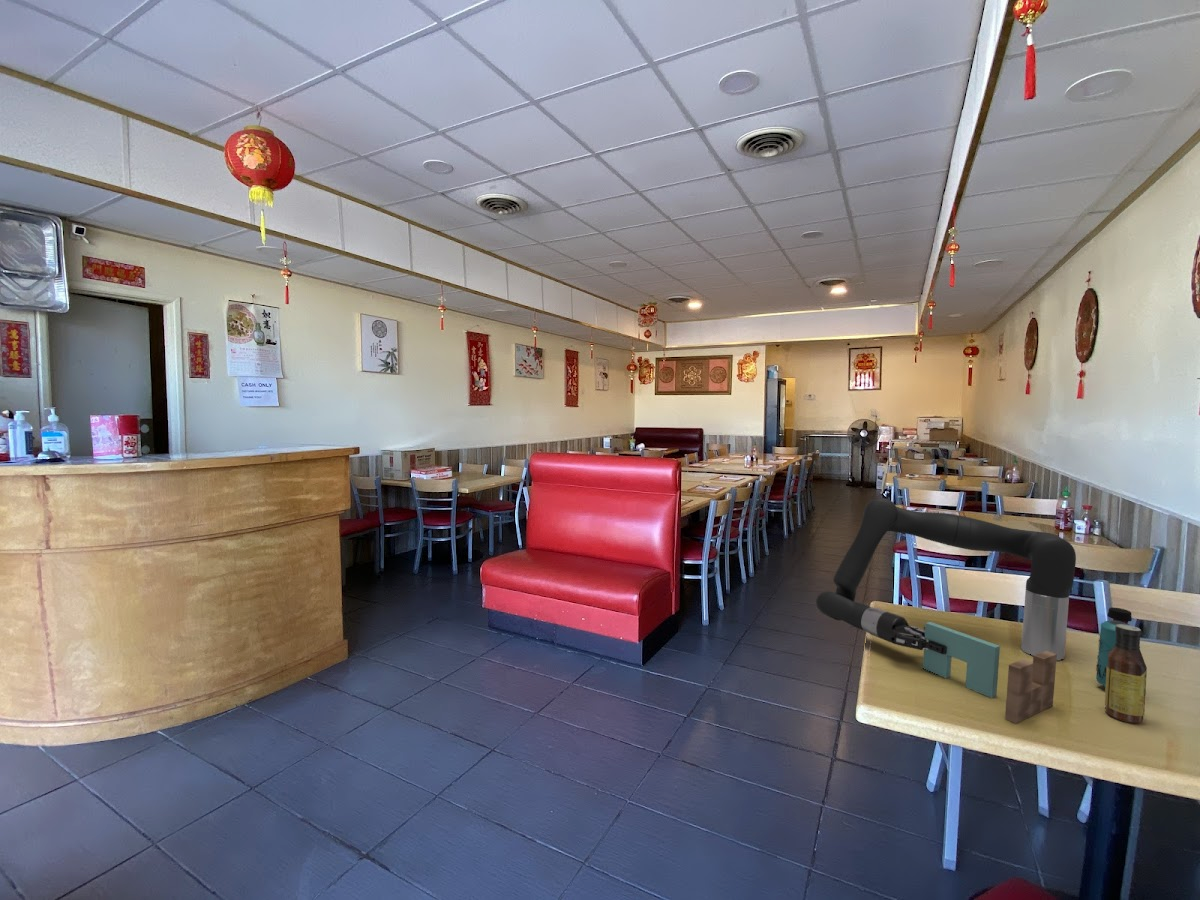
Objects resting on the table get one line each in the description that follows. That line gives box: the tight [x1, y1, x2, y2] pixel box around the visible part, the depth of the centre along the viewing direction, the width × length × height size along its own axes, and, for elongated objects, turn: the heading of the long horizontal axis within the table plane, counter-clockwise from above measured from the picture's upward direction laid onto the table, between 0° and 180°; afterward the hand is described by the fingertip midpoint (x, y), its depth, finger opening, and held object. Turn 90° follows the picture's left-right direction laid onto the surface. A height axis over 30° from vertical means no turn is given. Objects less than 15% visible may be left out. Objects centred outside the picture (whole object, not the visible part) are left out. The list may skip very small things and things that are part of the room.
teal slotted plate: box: [922, 621, 1001, 699], centre depth 131 cm, size 16×2×12 cm, turn 28°
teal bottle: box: [1095, 607, 1133, 687], centre depth 128 cm, size 6×7×20 cm
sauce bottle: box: [1104, 624, 1148, 724], centre depth 117 cm, size 7×6×20 cm
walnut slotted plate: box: [1004, 651, 1057, 724], centre depth 118 cm, size 16×2×12 cm, turn 118°
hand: (948, 649), depth 133 cm, fingers closed on teal slotted plate, 2 cm apart
